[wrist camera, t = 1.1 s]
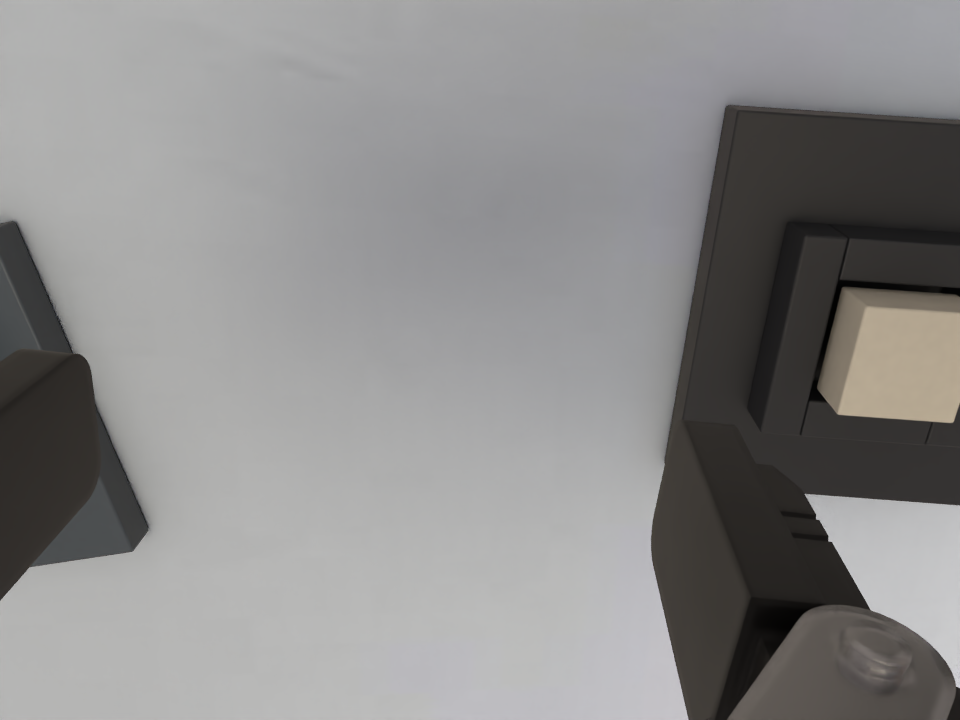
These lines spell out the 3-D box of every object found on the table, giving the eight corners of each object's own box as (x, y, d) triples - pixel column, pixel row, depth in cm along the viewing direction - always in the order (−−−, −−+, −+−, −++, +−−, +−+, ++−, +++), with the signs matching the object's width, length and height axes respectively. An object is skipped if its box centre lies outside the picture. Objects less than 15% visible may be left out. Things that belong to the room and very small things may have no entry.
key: (841, 285, 22) (865, 306, 21) (956, 293, 22) (990, 314, 21) (815, 388, 24) (837, 415, 22) (924, 396, 24) (954, 423, 22)
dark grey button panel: (725, 104, 23) (753, 116, 20) (1074, 127, 23) (1150, 142, 20) (663, 463, 28) (679, 511, 25) (952, 484, 28) (1000, 536, 25)
